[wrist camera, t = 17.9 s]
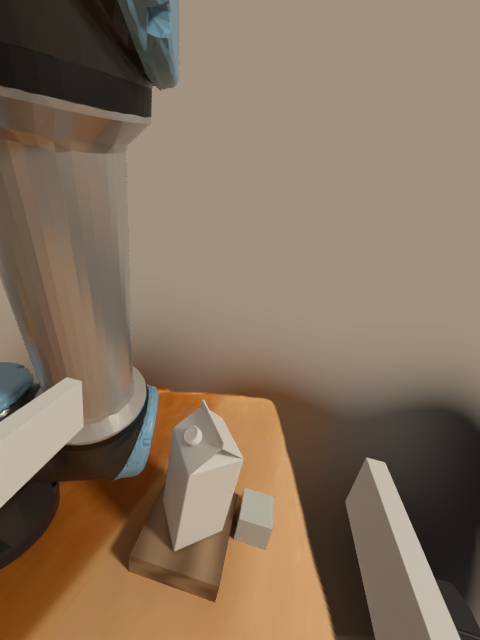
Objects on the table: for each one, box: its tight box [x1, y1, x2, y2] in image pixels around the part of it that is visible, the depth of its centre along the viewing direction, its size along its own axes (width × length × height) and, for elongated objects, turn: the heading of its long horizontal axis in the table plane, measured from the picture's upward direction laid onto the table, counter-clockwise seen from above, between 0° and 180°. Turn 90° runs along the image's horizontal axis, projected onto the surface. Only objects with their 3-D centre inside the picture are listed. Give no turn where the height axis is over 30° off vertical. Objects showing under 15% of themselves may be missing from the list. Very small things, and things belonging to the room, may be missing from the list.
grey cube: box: [234, 488, 274, 550], centre depth 41 cm, size 5×5×5 cm
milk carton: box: [163, 400, 244, 551], centre depth 35 cm, size 7×7×19 cm
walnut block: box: [129, 482, 237, 602], centre depth 39 cm, size 12×12×4 cm
